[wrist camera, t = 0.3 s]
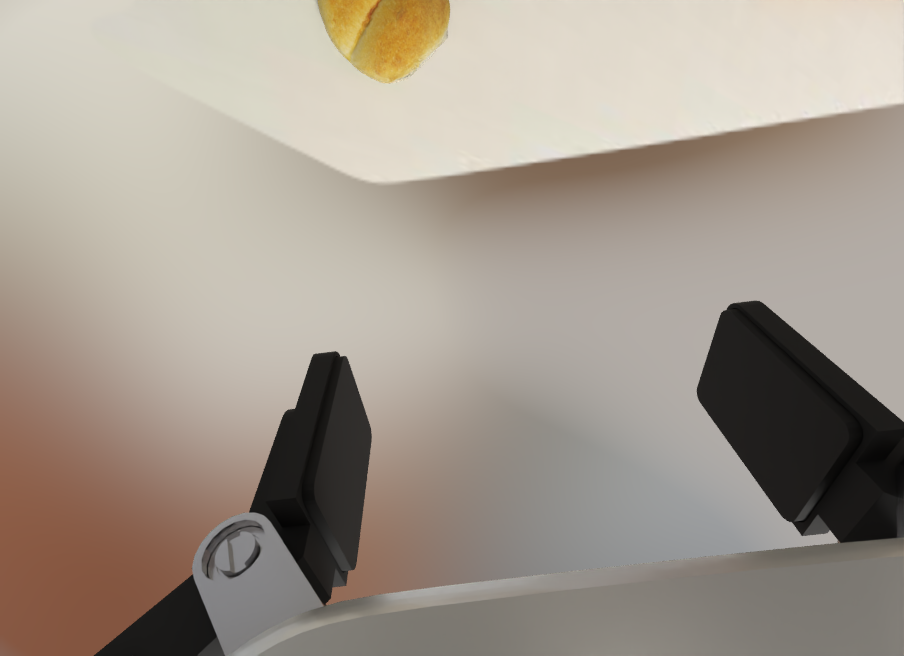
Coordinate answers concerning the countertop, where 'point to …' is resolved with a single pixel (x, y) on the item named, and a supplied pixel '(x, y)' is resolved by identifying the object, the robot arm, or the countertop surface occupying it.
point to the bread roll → (386, 33)
